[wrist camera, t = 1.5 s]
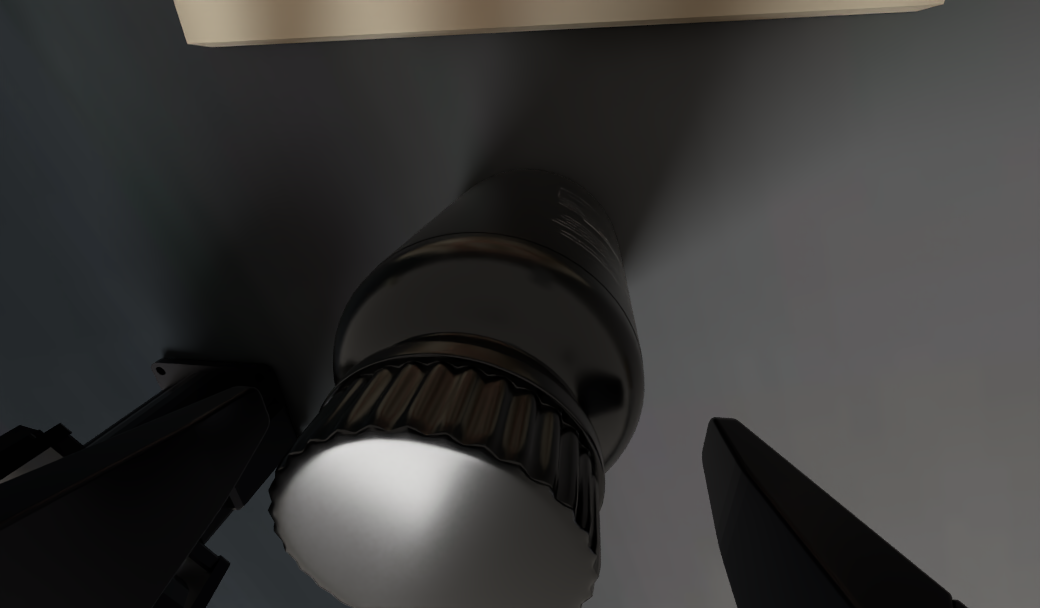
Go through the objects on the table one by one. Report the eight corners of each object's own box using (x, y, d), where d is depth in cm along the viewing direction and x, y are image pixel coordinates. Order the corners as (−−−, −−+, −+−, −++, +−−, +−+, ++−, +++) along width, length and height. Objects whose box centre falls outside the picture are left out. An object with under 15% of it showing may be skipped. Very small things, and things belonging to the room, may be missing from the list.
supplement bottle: (426, 179, 16) (85, 353, 5) (613, 154, 14) (704, 315, 4) (463, 337, 18) (299, 664, 8) (621, 328, 17) (685, 703, 7)
